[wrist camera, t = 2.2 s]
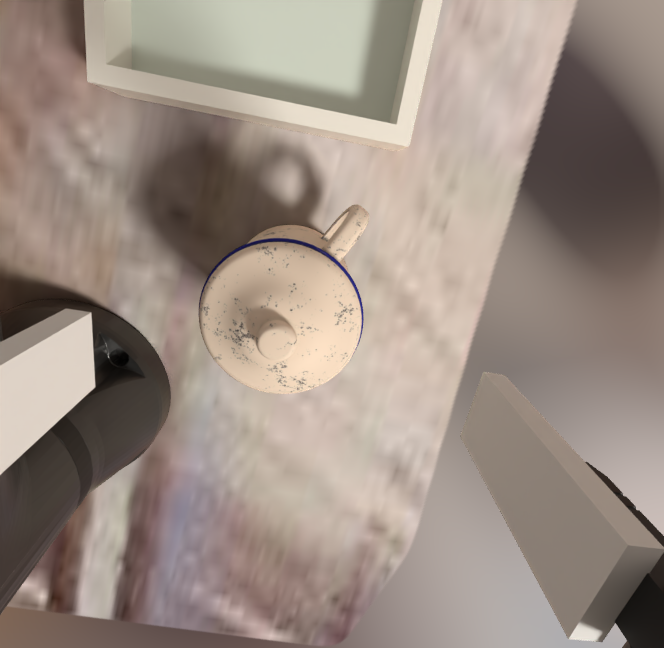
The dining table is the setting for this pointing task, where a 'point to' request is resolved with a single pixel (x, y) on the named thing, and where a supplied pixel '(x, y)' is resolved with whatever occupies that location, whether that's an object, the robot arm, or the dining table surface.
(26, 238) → the dining table surface
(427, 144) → the dining table surface
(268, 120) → the tray
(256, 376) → the teacup with lid
